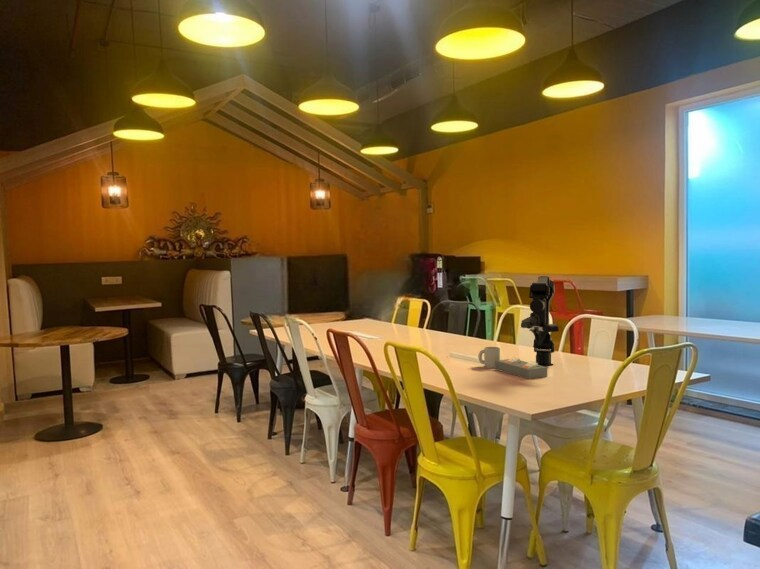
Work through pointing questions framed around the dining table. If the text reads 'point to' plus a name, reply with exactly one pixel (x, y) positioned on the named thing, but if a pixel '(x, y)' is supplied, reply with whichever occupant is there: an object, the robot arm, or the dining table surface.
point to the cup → (489, 356)
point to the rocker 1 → (513, 360)
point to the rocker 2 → (530, 365)
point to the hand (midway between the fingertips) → (539, 345)
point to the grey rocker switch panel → (521, 369)
